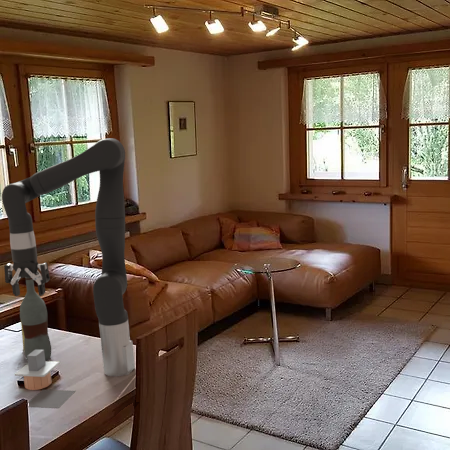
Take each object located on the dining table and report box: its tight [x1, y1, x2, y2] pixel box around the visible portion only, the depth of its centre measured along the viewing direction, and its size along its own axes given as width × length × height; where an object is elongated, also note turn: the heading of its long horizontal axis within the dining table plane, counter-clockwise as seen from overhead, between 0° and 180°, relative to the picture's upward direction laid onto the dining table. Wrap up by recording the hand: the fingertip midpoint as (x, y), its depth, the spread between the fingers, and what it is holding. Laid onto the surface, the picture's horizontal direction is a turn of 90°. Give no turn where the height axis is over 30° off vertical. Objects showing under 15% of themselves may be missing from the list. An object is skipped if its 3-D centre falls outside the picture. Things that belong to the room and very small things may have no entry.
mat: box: [27, 389, 76, 409], centre depth 175 cm, size 11×11×1 cm
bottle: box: [19, 277, 52, 363], centre depth 204 cm, size 9×9×30 cm
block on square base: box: [13, 350, 61, 377], centre depth 184 cm, size 10×10×6 cm
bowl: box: [23, 371, 53, 391], centre depth 185 cm, size 8×8×5 cm
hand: (29, 295), depth 188 cm, fingers open, 8 cm apart
